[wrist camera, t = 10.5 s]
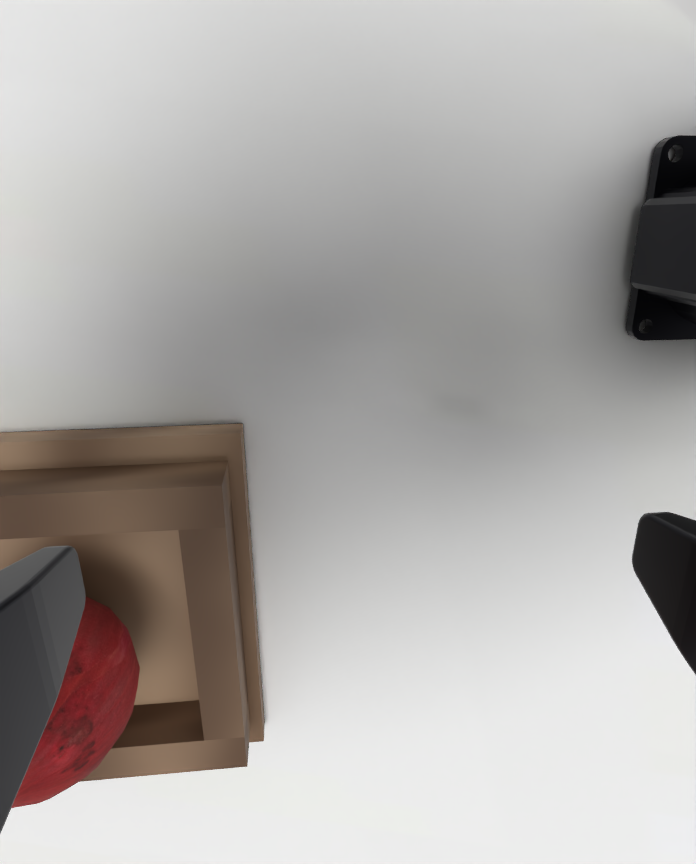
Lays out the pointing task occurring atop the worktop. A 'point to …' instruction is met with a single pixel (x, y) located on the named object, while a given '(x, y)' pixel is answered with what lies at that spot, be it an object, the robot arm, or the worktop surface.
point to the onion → (85, 706)
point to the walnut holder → (154, 575)
